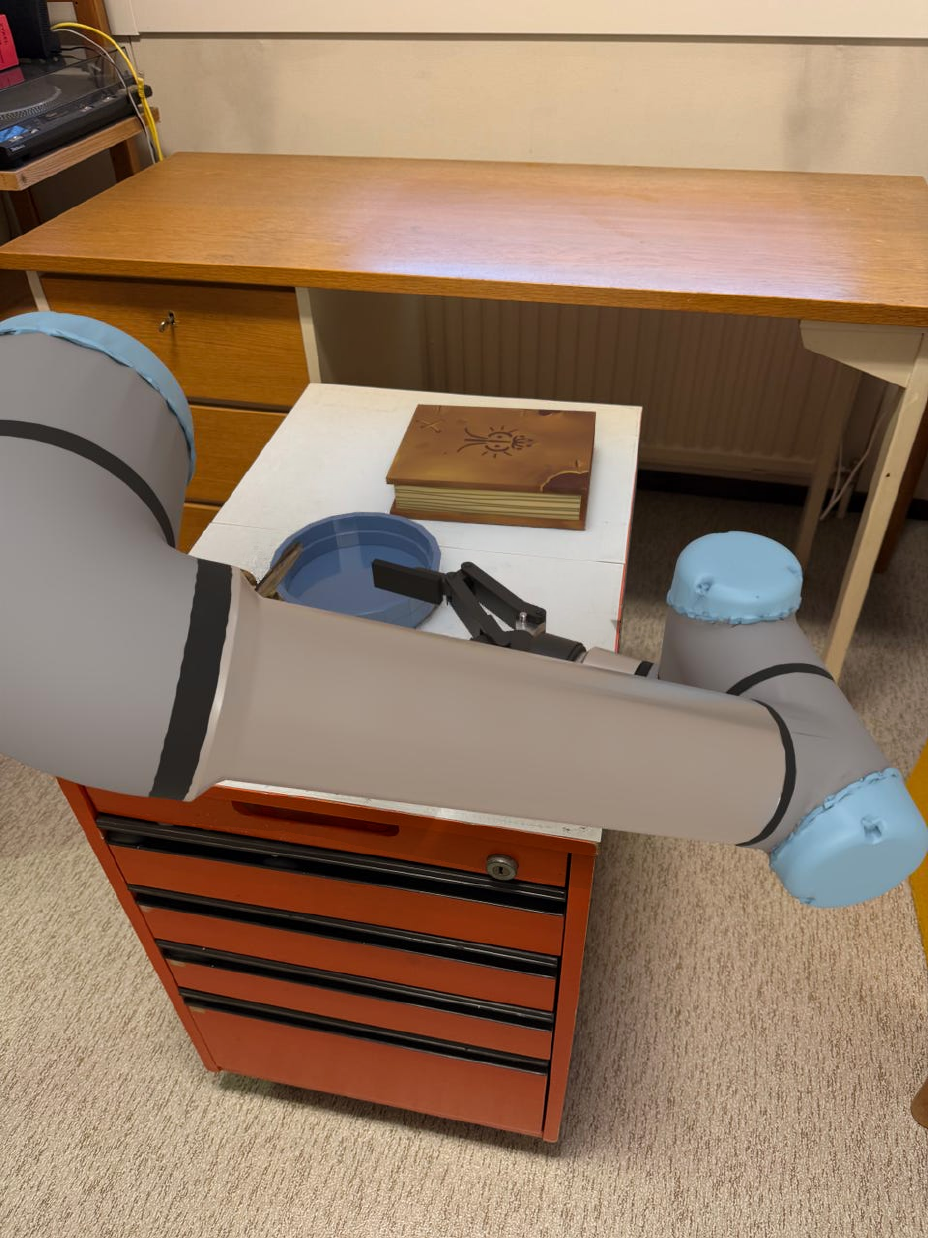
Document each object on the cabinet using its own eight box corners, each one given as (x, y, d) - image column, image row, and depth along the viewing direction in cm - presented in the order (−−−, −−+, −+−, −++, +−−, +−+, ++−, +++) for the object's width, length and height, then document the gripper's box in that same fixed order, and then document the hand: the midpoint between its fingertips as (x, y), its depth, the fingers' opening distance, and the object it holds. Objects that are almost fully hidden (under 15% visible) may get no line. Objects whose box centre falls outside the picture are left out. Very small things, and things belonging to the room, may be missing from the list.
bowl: (286, 664, 86) (278, 630, 83) (270, 560, 99) (263, 527, 96) (460, 630, 89) (458, 596, 86) (423, 533, 102) (420, 500, 99)
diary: (593, 448, 115) (596, 408, 111) (584, 531, 101) (587, 488, 98) (421, 438, 119) (419, 399, 115) (389, 517, 105) (385, 475, 101)
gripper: (508, 852, 60) (253, 754, 67) (622, 628, 77) (408, 570, 84) (507, 782, 55) (233, 685, 63) (630, 559, 72) (402, 504, 79)
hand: (333, 619), depth 73 cm, fingers open, 13 cm apart
